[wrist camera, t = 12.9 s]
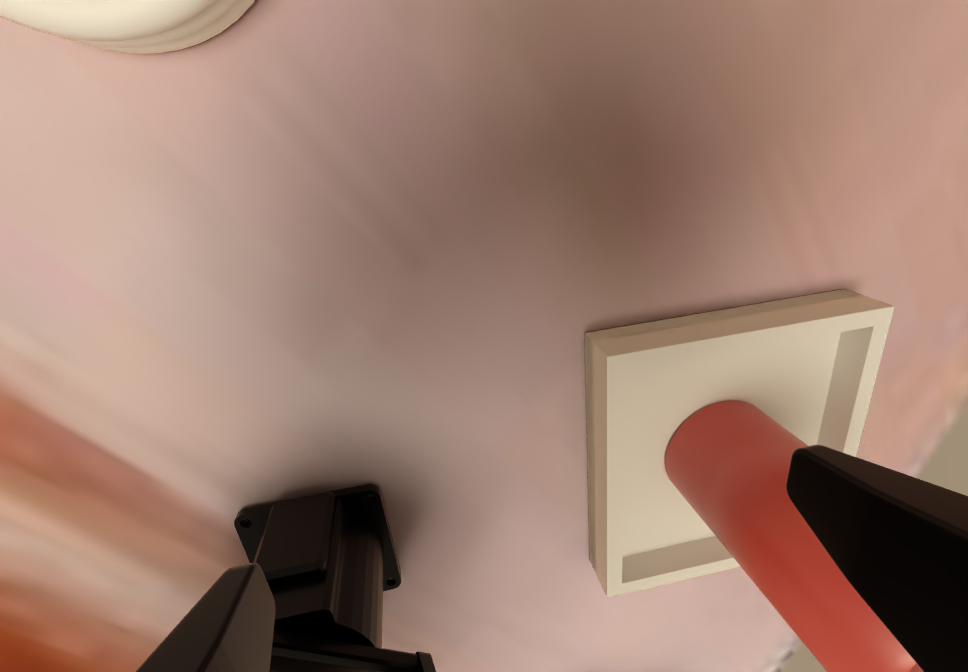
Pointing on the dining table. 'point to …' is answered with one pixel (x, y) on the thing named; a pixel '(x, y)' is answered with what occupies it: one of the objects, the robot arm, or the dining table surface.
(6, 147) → the dining table surface
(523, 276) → the dining table surface
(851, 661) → the squeeze bottle
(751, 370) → the tray
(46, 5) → the cream round disc
